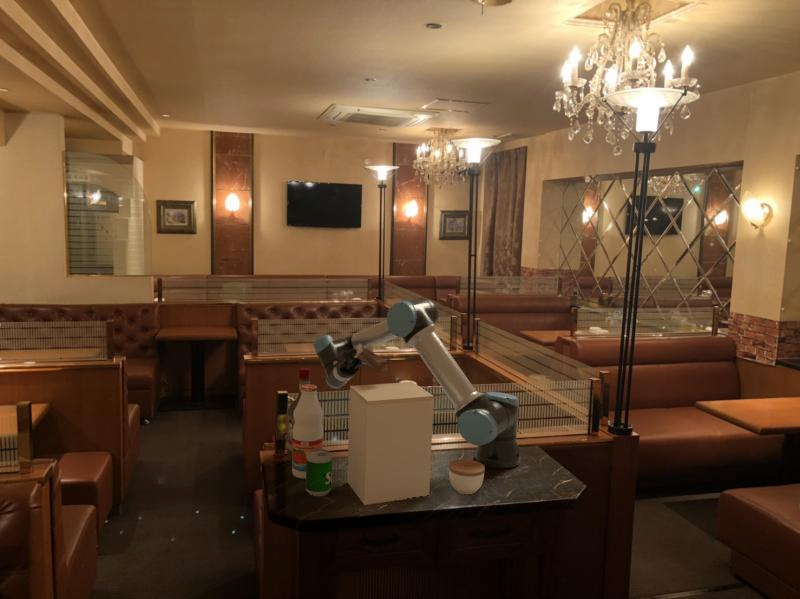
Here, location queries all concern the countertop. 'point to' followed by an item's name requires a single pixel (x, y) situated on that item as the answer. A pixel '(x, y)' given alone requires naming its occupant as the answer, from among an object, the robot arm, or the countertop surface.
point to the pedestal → (389, 441)
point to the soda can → (319, 472)
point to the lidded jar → (466, 475)
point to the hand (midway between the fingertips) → (366, 347)
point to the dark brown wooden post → (372, 360)
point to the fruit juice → (306, 429)
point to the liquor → (303, 380)
